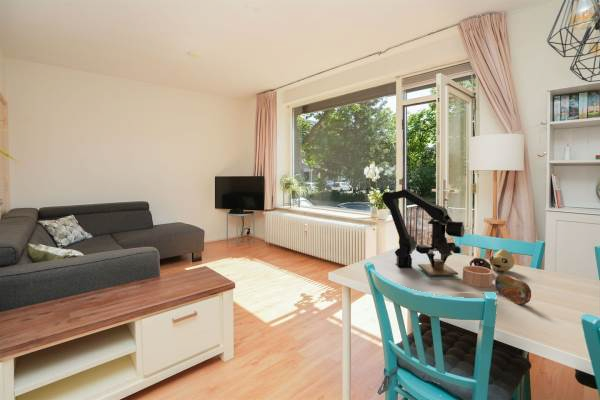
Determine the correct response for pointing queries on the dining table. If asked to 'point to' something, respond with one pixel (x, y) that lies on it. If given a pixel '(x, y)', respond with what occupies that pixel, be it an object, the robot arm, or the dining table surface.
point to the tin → (513, 289)
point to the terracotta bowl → (477, 276)
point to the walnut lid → (437, 268)
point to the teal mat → (437, 275)
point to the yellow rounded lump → (502, 261)
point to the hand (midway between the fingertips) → (437, 266)
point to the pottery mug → (480, 263)
